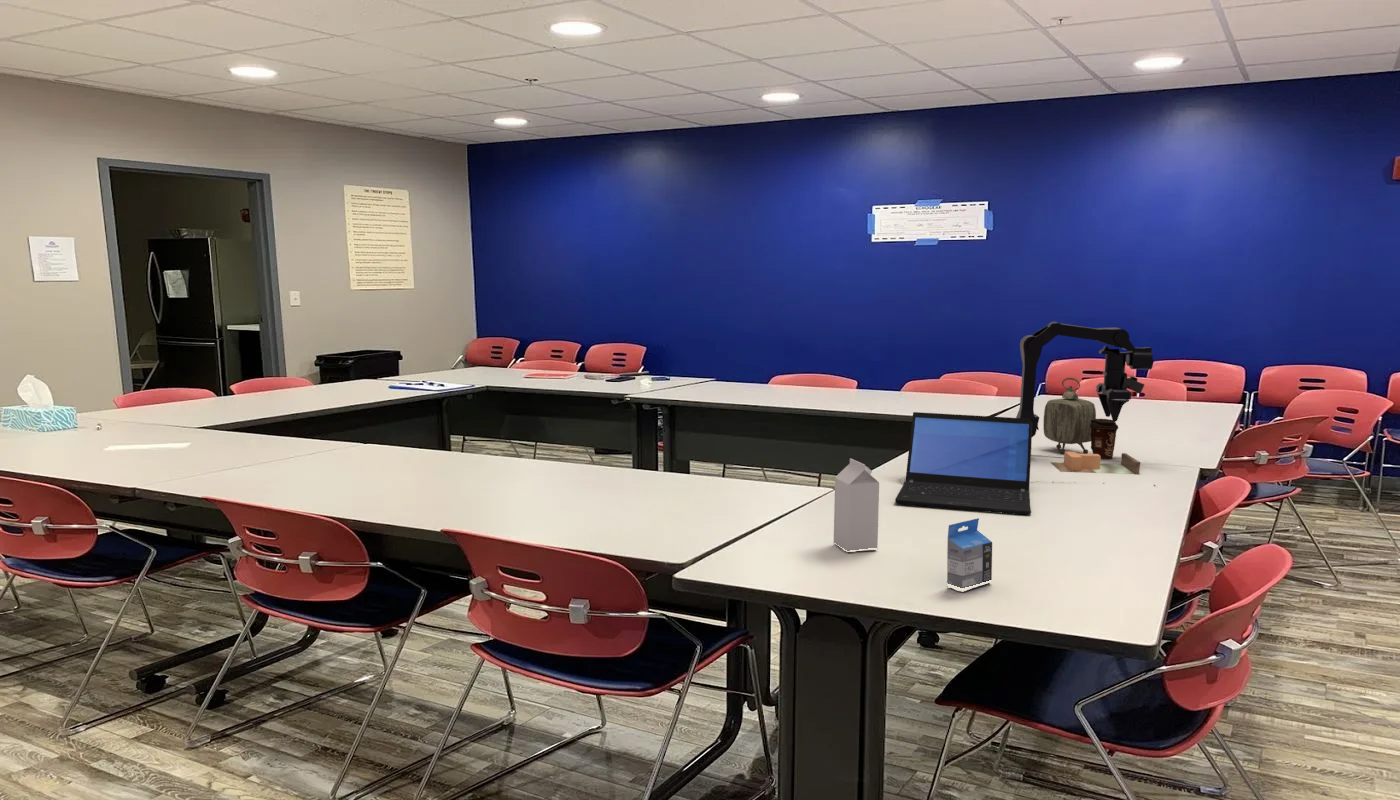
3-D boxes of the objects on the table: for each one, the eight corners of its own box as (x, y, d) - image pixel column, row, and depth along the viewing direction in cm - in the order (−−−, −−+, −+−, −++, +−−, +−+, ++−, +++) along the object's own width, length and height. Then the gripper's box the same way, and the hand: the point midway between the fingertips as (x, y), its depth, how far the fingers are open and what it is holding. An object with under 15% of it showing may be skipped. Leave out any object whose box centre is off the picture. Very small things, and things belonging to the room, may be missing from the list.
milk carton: (847, 553, 200) (849, 465, 197) (833, 544, 206) (835, 459, 204) (877, 551, 202) (880, 464, 199) (862, 542, 208) (865, 457, 206)
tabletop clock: (1094, 455, 309) (1098, 379, 306) (1075, 457, 305) (1080, 380, 302) (1057, 447, 322) (1061, 374, 318) (1039, 450, 317) (1043, 376, 314)
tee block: (1070, 470, 280) (1071, 457, 280) (1063, 464, 289) (1064, 451, 289) (1102, 471, 279) (1103, 457, 278) (1094, 465, 288) (1095, 452, 287)
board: (1060, 474, 278) (1061, 459, 278) (1049, 465, 292) (1050, 451, 292) (1139, 477, 275) (1139, 462, 275) (1124, 467, 289) (1125, 453, 288)
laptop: (893, 506, 241) (895, 432, 239) (910, 477, 277) (912, 411, 274) (1031, 518, 231) (1035, 440, 228) (1030, 485, 266) (1033, 417, 263)
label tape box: (962, 593, 175) (965, 529, 174) (944, 587, 178) (947, 524, 177) (992, 584, 180) (995, 522, 179) (974, 579, 184) (977, 517, 182)
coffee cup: (1081, 459, 303) (1083, 418, 301) (1099, 456, 306) (1102, 417, 304) (1102, 464, 295) (1105, 422, 293) (1122, 461, 298) (1124, 421, 296)
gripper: (1151, 372, 279) (1147, 424, 282) (1134, 366, 298) (1131, 415, 300) (1111, 371, 281) (1107, 423, 284) (1097, 365, 300) (1094, 414, 302)
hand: (1111, 418), depth 292 cm, fingers open, 9 cm apart
